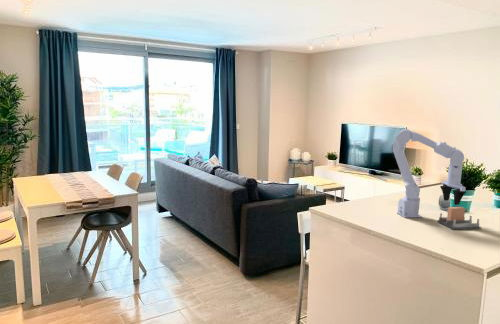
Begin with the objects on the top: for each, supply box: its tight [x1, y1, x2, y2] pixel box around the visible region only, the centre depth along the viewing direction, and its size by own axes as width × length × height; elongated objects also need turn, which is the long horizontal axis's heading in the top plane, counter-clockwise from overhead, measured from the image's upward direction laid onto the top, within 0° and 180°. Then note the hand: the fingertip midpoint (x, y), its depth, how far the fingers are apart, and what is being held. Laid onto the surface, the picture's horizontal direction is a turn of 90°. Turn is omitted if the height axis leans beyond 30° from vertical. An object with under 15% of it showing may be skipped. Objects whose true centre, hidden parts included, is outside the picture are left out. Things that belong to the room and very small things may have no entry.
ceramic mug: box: [438, 194, 450, 212], centre depth 207 cm, size 11×8×8 cm
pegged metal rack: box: [436, 213, 481, 231], centre depth 178 cm, size 14×11×4 cm
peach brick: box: [446, 206, 466, 220], centre depth 180 cm, size 7×2×7 cm, turn 99°
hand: (451, 202), depth 183 cm, fingers open, 7 cm apart
